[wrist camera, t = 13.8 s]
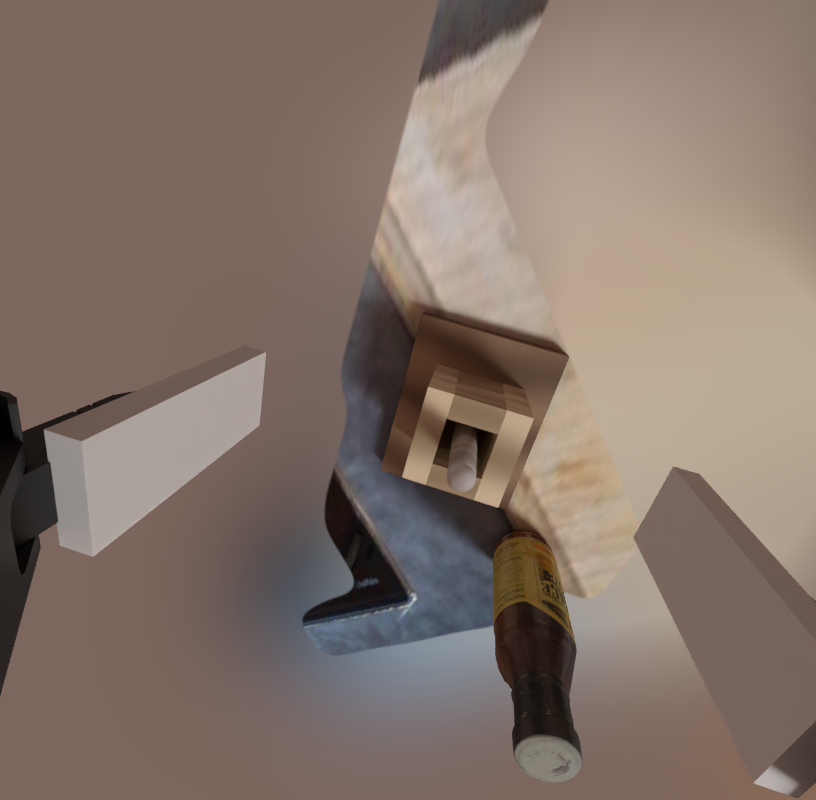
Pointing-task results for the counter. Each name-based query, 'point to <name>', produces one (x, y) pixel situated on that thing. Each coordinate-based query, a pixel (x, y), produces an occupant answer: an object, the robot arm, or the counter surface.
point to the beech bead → (478, 407)
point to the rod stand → (478, 357)
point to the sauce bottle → (535, 655)
